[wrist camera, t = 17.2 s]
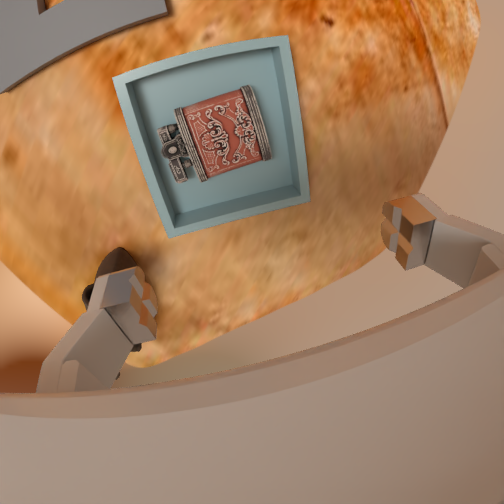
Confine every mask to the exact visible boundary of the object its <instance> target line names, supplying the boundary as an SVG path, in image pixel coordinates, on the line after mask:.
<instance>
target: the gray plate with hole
mask: <svg viewBox="0 0 504 504" xmlns="http://www.w3.org/2000/svg"><path fill="white" fill-rule="evenodd" d="M167 15H168V11H167V6H166V2H165V0H64V1H62V2H61V3H59V4H57V5H55V6H53V7H52V8H50V9H48V10H46V8H45V2H44V0H0V94H2V93H5V92H7V91H9V90H10V89H12V88H13V87H15V86H16V85H17V84H19V83H20V82H22V81H23V80H25V79H27V78H28V77H30V76H31V75H33V74H34V73H36V72H38V71H39V70H41V69H43V68H44V67H46V66H48V65H50V64H51V63H53V62H55V61H57V60H59V59H60V58H62V57H64V56H66V55H68V54H70V53H72V52H74V51H76V50H78V49H80V48H82V47H84V46H86V45H88V44H91V43H93V42H95V41H97V40H100V39H102V38H104V37H107V36H109V35H111V34H114V33H116V32H119V31H122V30H124V29H127V28H130V27H132V26H135V25H138V24H141V23H144V22H147V21H150V20H153V19H157V18H160V17H163V16H167Z"/></svg>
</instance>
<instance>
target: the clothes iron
mask: <svg viewBox="0 0 504 504" xmlns="http://www.w3.org/2000/svg"><path fill="white" fill-rule="evenodd" d="M136 266H137V265H136V263H135V261H134V260H133V259H132V257H131V256H130V255H129V254H128V253H127V252H126V251H125V250H124V249H122V248H117V249H114V250H113V251H112V252H110V253H109V254H108V255H107V256H106V257H105V259H104V260H103V261H102V263H101V264H100V266H99V268H98V271H97V274H96V278H98V277H99V276H102V275H105V274H109V273H113V272H116V271H120V270H124V269H128V268H132V267H136ZM96 278H95V282H96ZM95 282H94V284H91V285H88V286H87V287H86V288H85V289H84V291H83V294H82V300H83V302H84V304H85V307H86V310H87V309H88V306H89V302H90V298H91V295H92V291H93V288H94V285H95ZM141 344H142V343H138V344H134V345H133V348H132V350H131V351H130V352H136V351H138V352H139V351H140V350H141V348H142V347H141ZM119 376H120V371H119V373H118V375H117V377H116V379H118V378H119ZM116 379H115V380H116Z"/></svg>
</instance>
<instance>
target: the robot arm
mask: <svg viewBox="0 0 504 504" xmlns="http://www.w3.org/2000/svg"><path fill="white" fill-rule="evenodd" d="M382 213H383V215H384V216H385V219H384V221H383V222H382V224H381V235H382V239H383V242H384V244H385V246H386V247H387V248H388V249H389V250H390V251H393V252H395V253H396V257H395V258H396V259H397V261H398V262H399V263H400V264H401V266H402V267H403V268H404V269H405V270H409V269H412V268H415V267H418V266H421V265H424V264H425V266H427V267H429V268H430V269H432V270H434V271H436V272H437V273H439V274H441V275H442V276H444V277H446V278H447V279H449V280H451V281H452V282H454V283H456V284H457V285H459V286H461V287H462V288H464V289H462V290H460V291H458V292H456V293H454V294H451V295H449V296H447V297H445V298H443V299H441V300H439V301H436V302H434V303H432V304H430V305H427V306H425V307H423V308H420V309H418V310H416V311H413V312H411V313H409V314H406V315H403V316H401V317H399V318H396V319H394V320H391V321H388V322H386V323H383V324H381V325H378V326H376V327H373V328H370V329H367V330H364V331H362V332H359V333H356V334H353V335H350V336H348V337H344V338H341V339H339V340H335V341H332V342H329V343H326V344H323V345H320V346H317V347H314V348H310V349H307V350H303V351H300V352H296V353H293V354H289V355H286V356H282V357H278V358H275V359H271V360H267V361H263V362H260V363H256V364H251V365H247V366H243V367H239V368H235V369H230V370H225V371H221V372H216V373H211V374H206V375H201V376H196V377H190V378H185V379H179V380H173V381H167V382H161V383H154V384H148V385H140V386H132V387H124V388H115V389H110V388H111V386H112V384H113V382H114V381H115V379H116V377H117V375H118V373H119V371H120V369H121V368H122V366H123V364H124V362H125V360H126V359H127V357H128V355H129V353H130V351H131V350H132V348H133V345H134V344H138V343H143V342H147V341H152V340H156V331H157V323H156V321H155V319H154V317H155V315H156V314H157V311H158V304H157V299H156V295H155V292H154V290H153V288H152V286H151V285H150V284H148V283H146V282H144V281H145V274H144V272H143V271H142V269H141V268H140V267H138V266H136V267H132V268H128V269H124V270H120V271H116V272H113V273H109V274H105V275H102V276H99V277H98V278H96V282H95V285H94V288H93V291H92V295H91V298H90V302H89V306H88V309H87V312H86V313H83V314H82V315H81V316H80V317H79V319H78V320H77V321H76V322H75V323H74V324H73V326H72V327H71V328H70V329H69V330H68V332H67V333H66V334H65V336H64V337H63V338H62V339H61V340H60V341H59V343H58V344H57V345H56V346H55V348H54V349H53V350H52V351H51V353H50V354H49V355H48V357H47V358H46V359H45V360H44V362H43V364H42V368H41V372H40V376H39V381H38V385H37V390H36V393H0V504H504V235H503V234H501V233H499V232H496V231H494V230H491V229H488V228H486V227H483V226H481V225H478V224H475V223H473V222H470V221H468V220H465V219H462V218H459V217H456V216H453V215H447V214H446V213H445V212H444V211H443V210H442V209H441V208H439V207H438V206H437V205H436V204H435V203H433V202H432V201H431V200H430V199H429V198H427V197H426V196H425V195H424V194H422V193H417V194H413V195H410V196H407V197H403V198H400V199H396V200H392V201H388V202H385V203H384V205H383V210H382Z"/></svg>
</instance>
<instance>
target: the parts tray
mask: <svg viewBox="0 0 504 504" xmlns="http://www.w3.org/2000/svg"><path fill="white" fill-rule="evenodd" d="M112 79H113V82H114V86H115V89H116V92H117V96H118V99H119V102H120V106H121V109H122V112H123V115H124V118H125V121H126V125H127V128H128V131H129V134H130V137H131V140H132V143H133V145H134V148H135V151H136V154H137V157H138V160H139V163H140V165H141V168H142V171H143V174H144V176H145V179H146V182H147V185H148V187H149V190H150V193H151V195H152V198H153V200H154V203H155V206H156V208H157V211H158V213H159V216H160V218H161V221H162V223H163V226H164V228H165V231H166V233H167V235H168V238H173V237H176V236H180V235H183V234H187V233H190V232H194V231H198V230H201V229H205V228H209V227H212V226H216V225H220V224H224V223H227V222H231V221H235V220H239V219H243V218H246V217H250V216H254V215H258V214H262V213H266V212H270V211H274V210H278V209H282V208H286V207H290V206H294V205H298V204H302V203H307V202H310V191H309V180H308V171H307V161H306V152H305V144H304V136H303V128H302V120H301V113H300V106H299V99H298V92H297V86H296V79H295V73H294V67H293V61H292V55H291V50H290V44H289V39H288V35H286V36H276V37H267V38H260V39H253V40H246V41H240V42H234V43H229V44H224V45H219V46H214V47H210V48H205V49H201V50H197V51H193V52H189V53H185V54H181V55H178V56H174V57H171V58H167V59H164V60H161V61H158V62H154V63H151V64H148V65H145V66H142V67H140V68H137V69H134V70H131V71H128V72H126V73H123V74H121V75H118V76H115V77H113V78H112ZM245 85H250V86H251V88H252V90H253V93H254V96H255V99H256V102H257V105H258V108H259V111H260V114H261V117H262V120H263V124H264V127H265V131H266V135H267V138H268V142H269V146H270V150H271V155H272V159H270V160H267V161H264V162H263V161H262V160H261V161H258V162H255V163H252V164H249V165H246V166H243V167H240V168H237V169H234V170H231V171H228V172H225V173H222V174H219V175H216V176H214V177H211V178H208V180H207V181H205V182H202V183H201V182H200V181H199V179H198V176H197V174H196V171H195V169H194V167H193V166H191V167H189V168H184V169H185V171H186V174H187V176H188V181H186V182H183V183H180V184H179V183H176V182H175V179H174V177H173V175H172V172H171V170H170V167H169V165H168V164H169V160H168V159H166V158H164V157H163V156H162V154H161V148H162V146H163V145H162V142H161V140H160V137H159V135H158V132H157V129H158V128H161V127H163V126H166V125H170V124H176V123H177V121H176V118H175V115H174V109H176V108H179V107H182V108H184V107H186V106H189V105H192V104H195V103H197V102H200V101H203V100H206V99H209V98H212V97H215V96H218V95H221V94H225V93H228V92H231V91H234V90H238V89H240V87H242V86H245ZM178 132H180V130H176V131H175V132H174V133H172V134H171V136H172V138H173V137H175V136H176V135H177V133H178ZM180 159H181V161H182V162H184V161H185V160H188V159H190V157H189V156H188V157H183V156H181V157H180Z"/></svg>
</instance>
